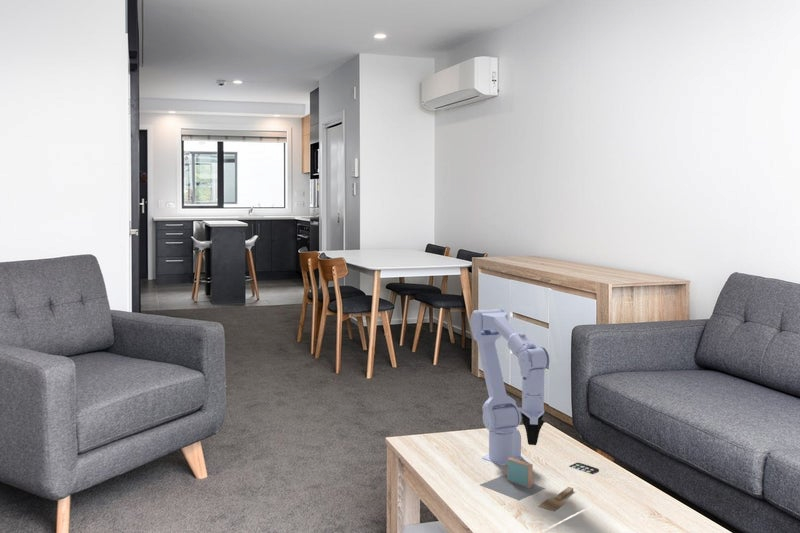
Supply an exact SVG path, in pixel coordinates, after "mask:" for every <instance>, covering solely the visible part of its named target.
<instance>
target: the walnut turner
mask: <svg viewBox="0 0 800 533" xmlns="http://www.w3.org/2000/svg"><path fill="white" fill-rule="evenodd" d="M573 492H574V487H571V486H567V487H566V488H565V489H563V490H561V492H559V493H558V494H557V495H555V496H554V498H551V497H548V498H547V499H545V500H544V501H543V502H541V503H540V504H539V505H537V507H538V508H542V509H545V510H549V511H552V512H556V511H557V510H559V509H560V508H561V507H562V506H563V505H565V504H566V501H562V500H564V499H565V498H566V497H567V496H569V495H570V494H572V493H573Z"/></svg>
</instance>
